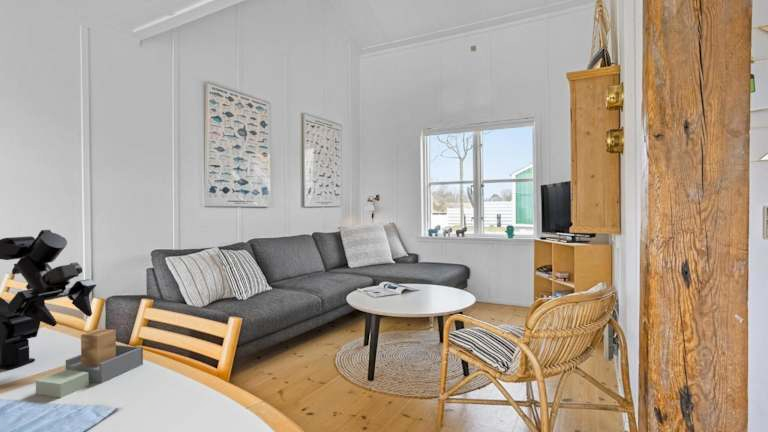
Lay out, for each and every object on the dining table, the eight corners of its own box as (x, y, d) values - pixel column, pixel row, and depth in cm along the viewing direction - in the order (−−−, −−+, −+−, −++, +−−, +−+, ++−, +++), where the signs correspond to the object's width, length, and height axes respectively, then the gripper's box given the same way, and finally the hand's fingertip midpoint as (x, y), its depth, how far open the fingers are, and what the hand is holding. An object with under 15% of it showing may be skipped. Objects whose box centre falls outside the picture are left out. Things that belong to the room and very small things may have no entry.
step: (35, 394, 90) (35, 380, 90) (64, 382, 97) (64, 369, 97) (60, 397, 89) (60, 384, 89) (88, 385, 95) (88, 372, 95)
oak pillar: (81, 364, 100) (81, 334, 100) (99, 357, 105) (99, 328, 104) (97, 366, 98) (97, 335, 98) (115, 359, 103) (115, 330, 103)
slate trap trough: (65, 378, 99) (65, 359, 99) (109, 360, 111) (109, 343, 110) (102, 382, 96) (101, 364, 96) (142, 364, 108) (142, 347, 108)
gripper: (15, 257, 95) (53, 307, 93) (90, 250, 113) (123, 291, 111) (-9, 289, 97) (27, 339, 95) (68, 277, 115) (100, 318, 113)
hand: (73, 320), depth 103 cm, fingers open, 9 cm apart
